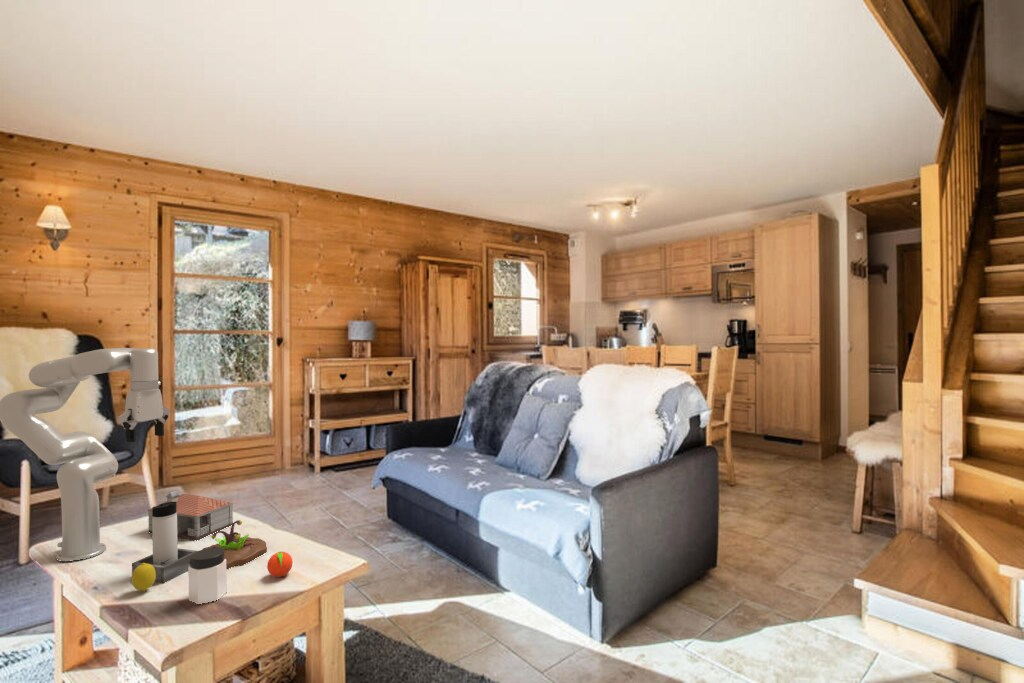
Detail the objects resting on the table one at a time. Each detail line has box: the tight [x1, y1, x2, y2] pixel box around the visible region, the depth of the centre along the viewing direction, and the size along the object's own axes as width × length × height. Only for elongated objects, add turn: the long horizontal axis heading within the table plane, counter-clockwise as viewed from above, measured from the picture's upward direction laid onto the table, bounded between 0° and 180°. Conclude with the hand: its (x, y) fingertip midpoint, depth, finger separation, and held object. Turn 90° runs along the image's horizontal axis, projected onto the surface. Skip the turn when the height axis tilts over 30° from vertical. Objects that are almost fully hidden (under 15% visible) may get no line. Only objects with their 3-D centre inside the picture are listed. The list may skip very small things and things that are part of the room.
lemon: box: [131, 563, 156, 592], centre depth 145 cm, size 6×6×8 cm
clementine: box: [266, 551, 294, 578], centre depth 153 cm, size 8×7×7 cm
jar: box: [187, 548, 228, 605], centre depth 141 cm, size 9×8×12 cm
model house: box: [147, 490, 234, 542], centre depth 191 cm, size 24×16×15 cm, turn 71°
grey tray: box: [131, 547, 198, 584], centre depth 157 cm, size 12×12×4 cm
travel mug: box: [151, 502, 179, 566], centre depth 157 cm, size 6×7×20 cm
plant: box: [201, 519, 268, 570], centre depth 168 cm, size 20×20×11 cm
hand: (145, 438), depth 168 cm, fingers open, 9 cm apart
